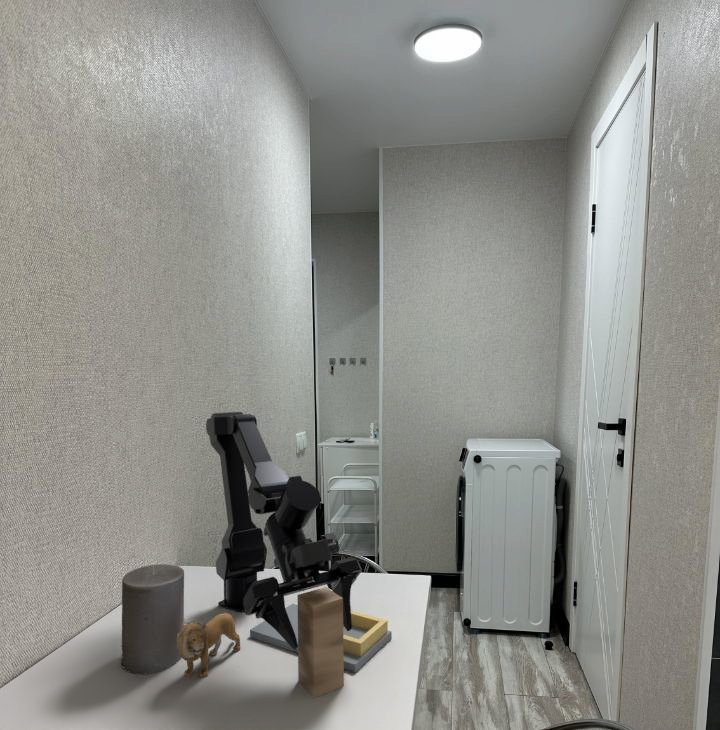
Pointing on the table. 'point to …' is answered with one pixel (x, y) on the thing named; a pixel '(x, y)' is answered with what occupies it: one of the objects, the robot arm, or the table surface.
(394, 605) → the table surface
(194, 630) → the lion figurine
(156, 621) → the pillar candle
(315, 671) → the walnut column
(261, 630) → the base board
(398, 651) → the table surface
